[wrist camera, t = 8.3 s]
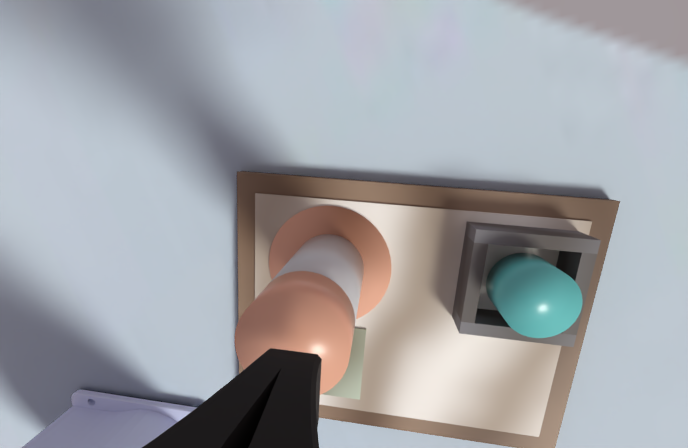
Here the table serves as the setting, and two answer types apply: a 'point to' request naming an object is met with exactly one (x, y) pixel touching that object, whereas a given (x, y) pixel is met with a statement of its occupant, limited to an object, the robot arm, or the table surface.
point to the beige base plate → (434, 298)
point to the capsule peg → (308, 308)
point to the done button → (533, 295)
